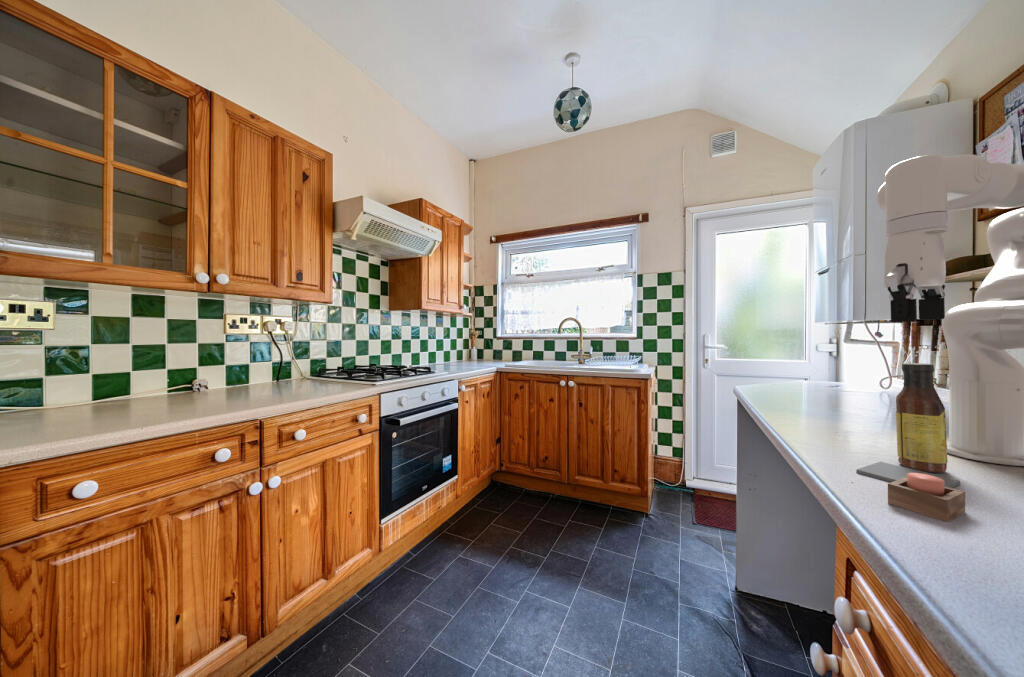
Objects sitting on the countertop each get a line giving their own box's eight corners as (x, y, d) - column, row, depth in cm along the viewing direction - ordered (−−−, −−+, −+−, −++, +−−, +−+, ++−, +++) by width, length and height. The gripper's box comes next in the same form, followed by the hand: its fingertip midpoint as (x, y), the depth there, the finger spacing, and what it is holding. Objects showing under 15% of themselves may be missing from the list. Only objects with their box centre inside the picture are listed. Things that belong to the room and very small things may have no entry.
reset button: (913, 486, 55) (913, 471, 55) (948, 496, 52) (948, 479, 52) (902, 491, 54) (902, 475, 54) (938, 501, 50) (938, 484, 50)
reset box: (906, 495, 57) (906, 476, 57) (965, 512, 51) (965, 491, 51) (887, 503, 54) (887, 483, 54) (947, 521, 49) (947, 500, 49)
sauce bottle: (958, 475, 64) (958, 365, 64) (916, 473, 65) (916, 365, 65) (924, 462, 70) (924, 362, 70) (886, 460, 71) (886, 362, 71)
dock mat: (880, 464, 70) (880, 461, 69) (960, 483, 60) (960, 480, 60) (856, 472, 66) (856, 469, 66) (937, 494, 57) (937, 490, 57)
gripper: (912, 235, 72) (914, 319, 73) (862, 231, 66) (865, 323, 67) (969, 224, 65) (971, 317, 66) (919, 219, 59) (922, 321, 60)
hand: (918, 320), depth 66 cm, fingers open, 9 cm apart
